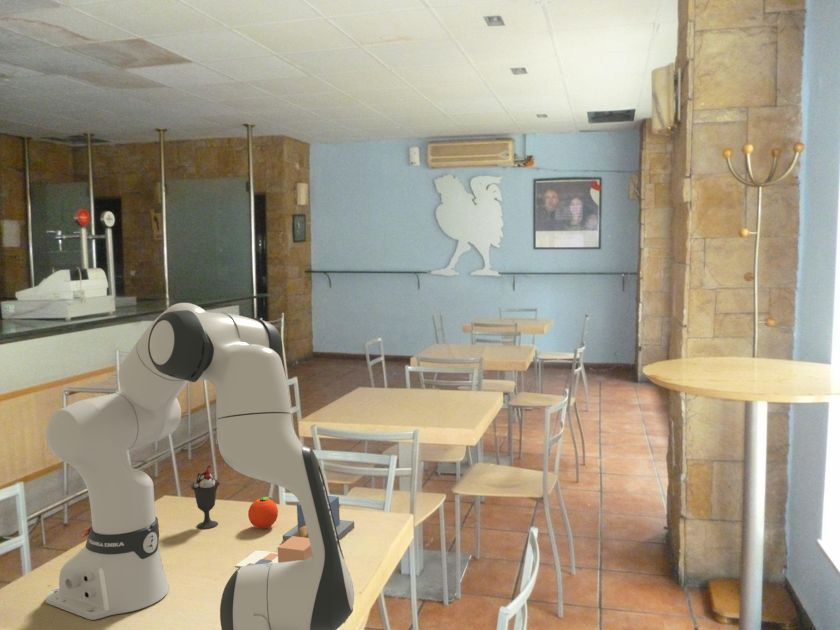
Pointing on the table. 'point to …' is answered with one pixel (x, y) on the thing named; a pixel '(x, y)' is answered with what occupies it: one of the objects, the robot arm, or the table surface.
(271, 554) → the page
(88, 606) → the robot arm
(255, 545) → the table surface
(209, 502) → the sundae
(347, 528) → the tower base
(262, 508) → the clementine
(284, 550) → the terracotta brick
